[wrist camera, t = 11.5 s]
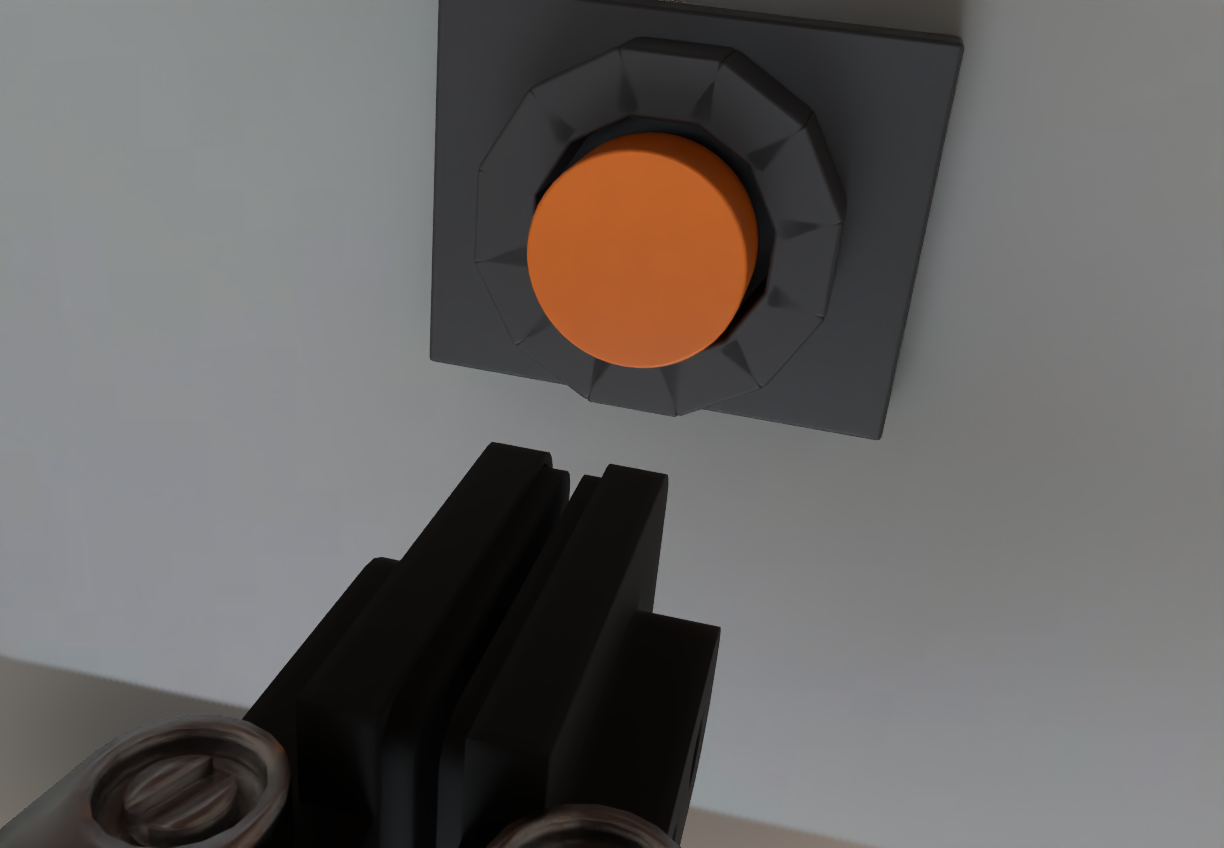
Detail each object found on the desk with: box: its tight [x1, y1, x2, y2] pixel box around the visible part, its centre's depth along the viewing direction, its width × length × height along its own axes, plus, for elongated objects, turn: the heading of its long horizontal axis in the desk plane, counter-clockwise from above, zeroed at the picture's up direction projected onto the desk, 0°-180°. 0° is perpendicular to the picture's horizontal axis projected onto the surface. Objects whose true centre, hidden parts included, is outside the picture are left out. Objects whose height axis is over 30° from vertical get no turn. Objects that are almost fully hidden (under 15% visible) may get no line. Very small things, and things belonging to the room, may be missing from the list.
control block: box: [430, 0, 964, 440], centre depth 23 cm, size 10×8×3 cm
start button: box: [527, 132, 759, 368], centre depth 21 cm, size 4×4×2 cm
